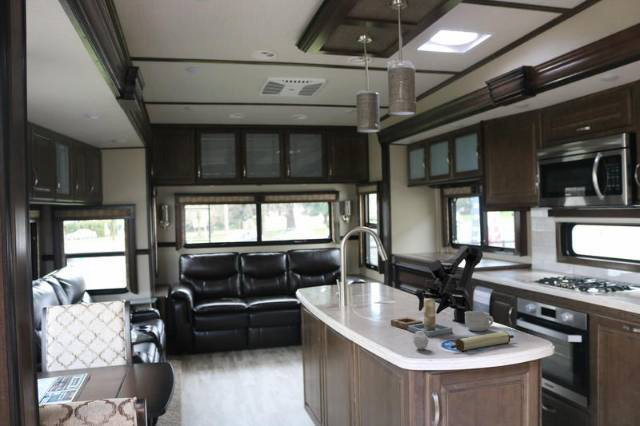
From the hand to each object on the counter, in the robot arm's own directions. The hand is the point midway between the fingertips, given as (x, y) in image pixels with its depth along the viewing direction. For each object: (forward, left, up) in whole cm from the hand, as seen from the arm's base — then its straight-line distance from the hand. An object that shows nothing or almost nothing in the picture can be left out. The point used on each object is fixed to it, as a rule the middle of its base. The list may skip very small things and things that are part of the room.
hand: (427, 312), depth 221 cm
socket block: (+15, 0, -9) cm, 18 cm away
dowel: (0, -1, -8) cm, 9 cm away
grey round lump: (-19, +21, -9) cm, 30 cm away
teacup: (-11, -21, -9) cm, 25 cm away
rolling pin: (-30, -2, -10) cm, 32 cm away
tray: (0, -1, -9) cm, 9 cm away
